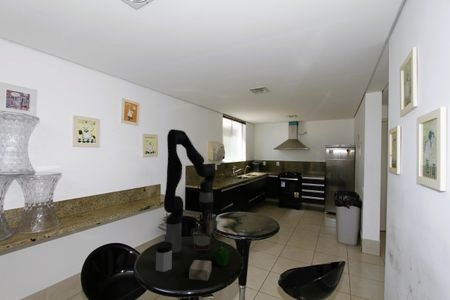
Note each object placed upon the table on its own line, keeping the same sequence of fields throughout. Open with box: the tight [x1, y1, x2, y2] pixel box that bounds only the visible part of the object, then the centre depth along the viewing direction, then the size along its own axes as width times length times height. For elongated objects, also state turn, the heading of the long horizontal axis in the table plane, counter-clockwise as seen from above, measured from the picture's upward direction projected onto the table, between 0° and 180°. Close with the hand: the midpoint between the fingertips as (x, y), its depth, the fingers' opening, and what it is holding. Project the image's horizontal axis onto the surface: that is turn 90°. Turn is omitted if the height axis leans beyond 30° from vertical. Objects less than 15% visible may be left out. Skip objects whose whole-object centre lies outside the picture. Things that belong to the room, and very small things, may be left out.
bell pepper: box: [214, 246, 231, 267], centre depth 117 cm, size 8×8×10 cm
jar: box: [155, 241, 173, 273], centre depth 113 cm, size 9×8×12 cm
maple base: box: [188, 259, 212, 282], centre depth 107 cm, size 9×9×5 cm
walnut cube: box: [198, 219, 214, 235], centre depth 119 cm, size 6×6×6 cm
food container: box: [192, 230, 212, 251], centre depth 138 cm, size 12×6×10 cm, turn 84°
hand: (206, 230), depth 118 cm, fingers closed on walnut cube, 6 cm apart
